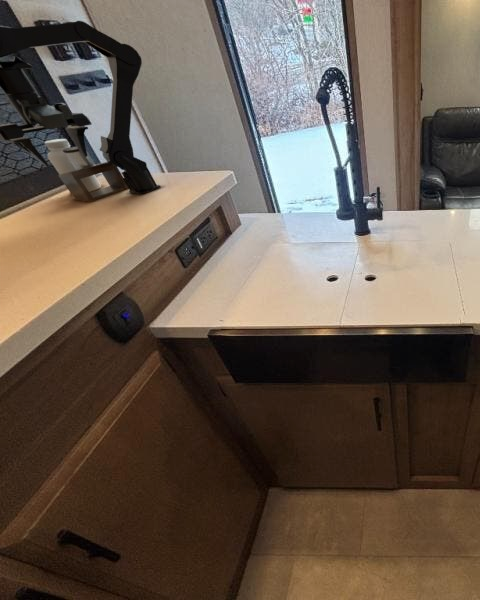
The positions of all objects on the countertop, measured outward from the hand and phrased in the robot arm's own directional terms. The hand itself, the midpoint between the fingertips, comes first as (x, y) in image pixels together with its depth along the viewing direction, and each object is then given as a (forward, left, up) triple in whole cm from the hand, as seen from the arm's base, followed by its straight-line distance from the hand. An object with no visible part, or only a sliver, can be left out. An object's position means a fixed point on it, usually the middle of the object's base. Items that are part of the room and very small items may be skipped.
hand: (67, 161), depth 87 cm
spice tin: (-7, -8, -5) cm, 12 cm away
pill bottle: (-8, -18, -12) cm, 23 cm away
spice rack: (-7, -8, -12) cm, 16 cm away
